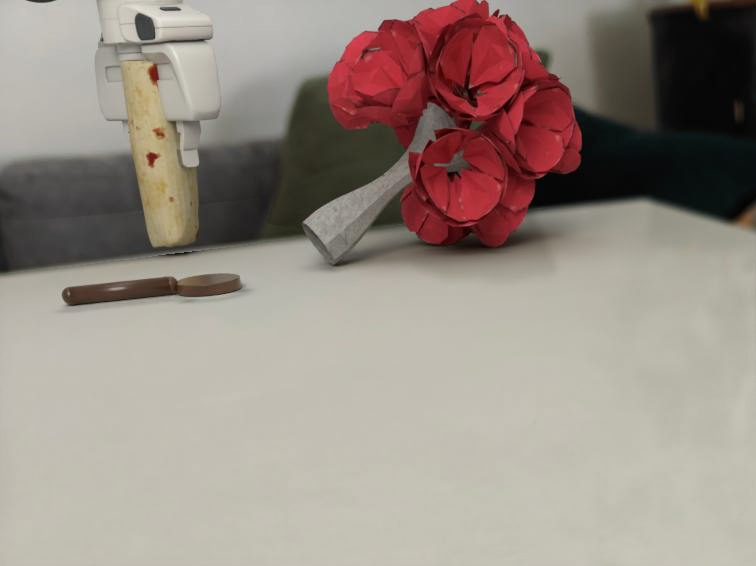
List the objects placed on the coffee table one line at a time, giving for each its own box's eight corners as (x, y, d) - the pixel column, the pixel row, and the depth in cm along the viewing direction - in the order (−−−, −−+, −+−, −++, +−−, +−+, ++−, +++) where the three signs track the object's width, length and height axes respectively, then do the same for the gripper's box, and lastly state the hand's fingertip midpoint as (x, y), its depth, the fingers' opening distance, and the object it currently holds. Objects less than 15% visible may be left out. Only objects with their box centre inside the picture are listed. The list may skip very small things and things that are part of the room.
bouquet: (417, 347, 109) (646, 155, 112) (264, 127, 97) (524, -83, 100) (354, 323, 128) (552, 160, 130) (219, 137, 116) (439, -41, 118)
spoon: (61, 311, 101) (57, 293, 101) (66, 299, 107) (62, 282, 106) (243, 292, 104) (240, 274, 104) (239, 281, 110) (236, 264, 109)
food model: (203, 250, 126) (173, 48, 117) (142, 254, 125) (107, 51, 116) (210, 238, 134) (182, 49, 125) (153, 241, 134) (121, 52, 124)
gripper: (70, 30, 124) (97, 166, 131) (166, 20, 111) (190, 171, 117) (122, 29, 128) (145, 160, 134) (221, 18, 115) (241, 165, 121)
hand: (167, 165), depth 126 cm, fingers closed on food model, 8 cm apart
